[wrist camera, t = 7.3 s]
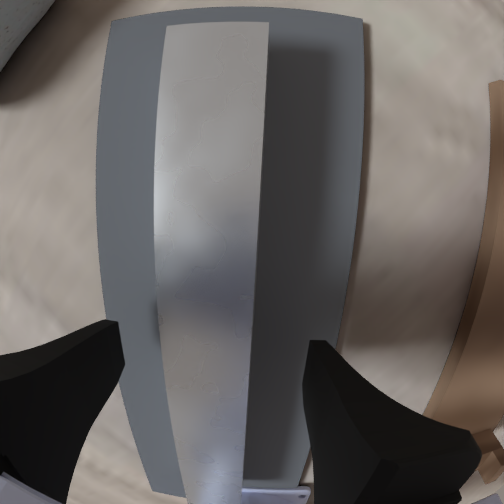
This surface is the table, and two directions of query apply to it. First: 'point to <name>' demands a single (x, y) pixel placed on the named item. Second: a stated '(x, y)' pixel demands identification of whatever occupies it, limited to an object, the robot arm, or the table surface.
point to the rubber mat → (270, 230)
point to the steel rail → (209, 242)
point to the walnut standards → (481, 325)
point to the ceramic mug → (18, 23)
